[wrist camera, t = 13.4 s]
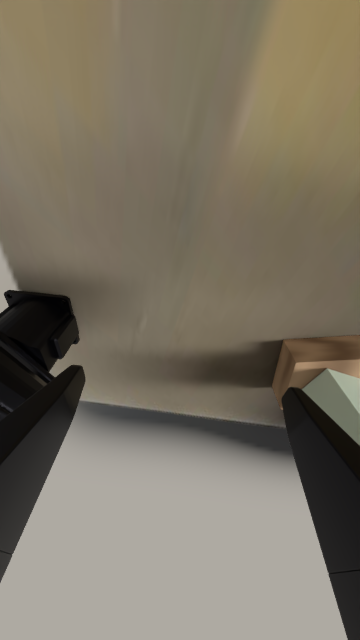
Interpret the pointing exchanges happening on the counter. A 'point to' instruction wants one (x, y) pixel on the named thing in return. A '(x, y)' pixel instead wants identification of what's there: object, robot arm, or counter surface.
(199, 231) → the counter surface
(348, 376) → the sage block
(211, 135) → the counter surface
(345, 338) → the tan block
